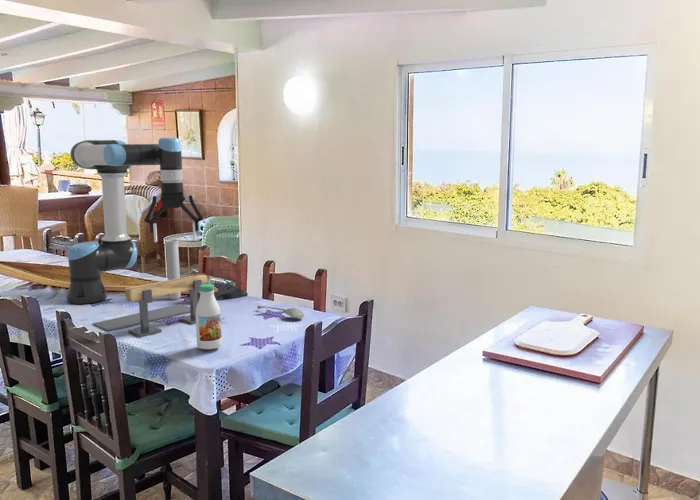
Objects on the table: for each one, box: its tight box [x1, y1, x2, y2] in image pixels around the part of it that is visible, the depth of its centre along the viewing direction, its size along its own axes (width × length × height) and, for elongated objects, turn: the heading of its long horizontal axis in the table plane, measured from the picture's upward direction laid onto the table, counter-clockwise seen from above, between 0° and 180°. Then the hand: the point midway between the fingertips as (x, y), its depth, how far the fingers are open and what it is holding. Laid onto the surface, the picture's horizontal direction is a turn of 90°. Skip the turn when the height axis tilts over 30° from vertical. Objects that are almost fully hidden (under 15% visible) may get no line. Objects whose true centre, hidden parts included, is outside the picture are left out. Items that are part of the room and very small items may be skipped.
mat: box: [92, 303, 190, 333], centre depth 226 cm, size 12×36×1 cm, turn 138°
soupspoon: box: [256, 304, 305, 319], centre depth 232 cm, size 22×3×7 cm
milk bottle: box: [195, 283, 222, 350], centre depth 192 cm, size 8×8×20 cm
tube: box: [165, 239, 182, 301], centre depth 251 cm, size 5×5×25 cm
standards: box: [127, 280, 202, 338], centre depth 214 cm, size 8×28×15 cm, turn 138°
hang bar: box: [124, 274, 209, 303], centre depth 213 cm, size 4×30×4 cm, turn 138°
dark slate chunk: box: [212, 282, 249, 301], centre depth 263 cm, size 15×22×5 cm
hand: (175, 241), depth 218 cm, fingers open, 13 cm apart
